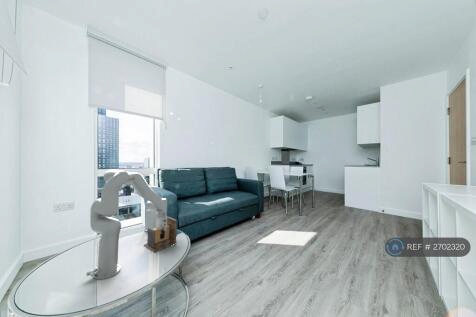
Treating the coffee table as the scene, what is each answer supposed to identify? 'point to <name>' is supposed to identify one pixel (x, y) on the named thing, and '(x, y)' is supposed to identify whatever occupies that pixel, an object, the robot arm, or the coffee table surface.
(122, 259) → the coffee table surface
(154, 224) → the hard drive box
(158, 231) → the book
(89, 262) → the coffee table surface
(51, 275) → the coffee table surface
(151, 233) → the book rack
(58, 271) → the coffee table surface
